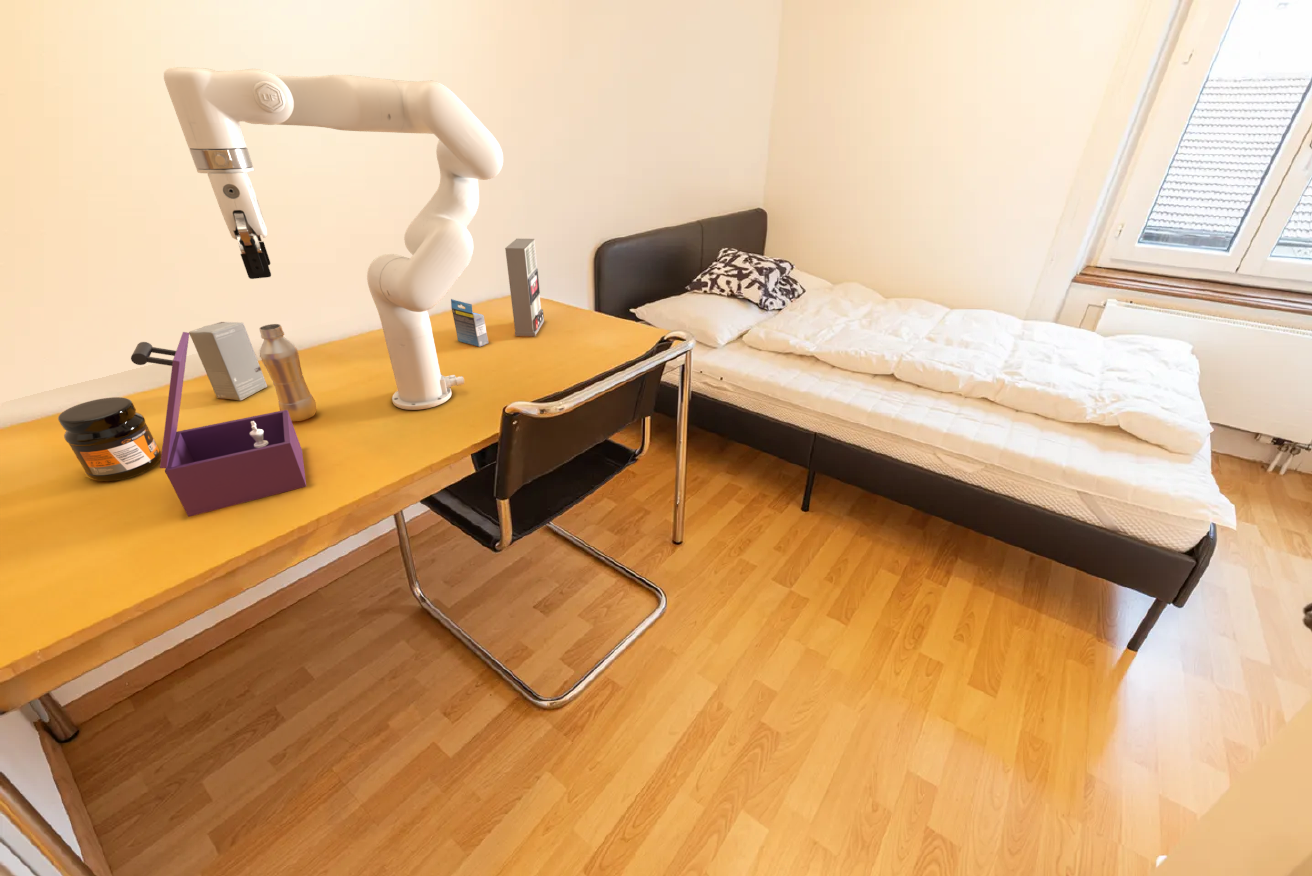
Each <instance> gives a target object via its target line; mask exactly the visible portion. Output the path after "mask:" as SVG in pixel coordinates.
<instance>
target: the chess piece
mask: <svg viewBox="0 0 1312 876" xmlns="http://www.w3.org/2000/svg"><path fill="white" fill-rule="evenodd" d="M251 425H252V431H251V432H250V433H249V434H250V436H251V437H252V438H253V439H254V440H255V441H256V443H255V444H254V447H256V448H260V447H265V446H266V445H268V441H266V440H263V434H264V431H263V430H262V429H257V428H256V423H255V422H254V421H251Z"/></svg>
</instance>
